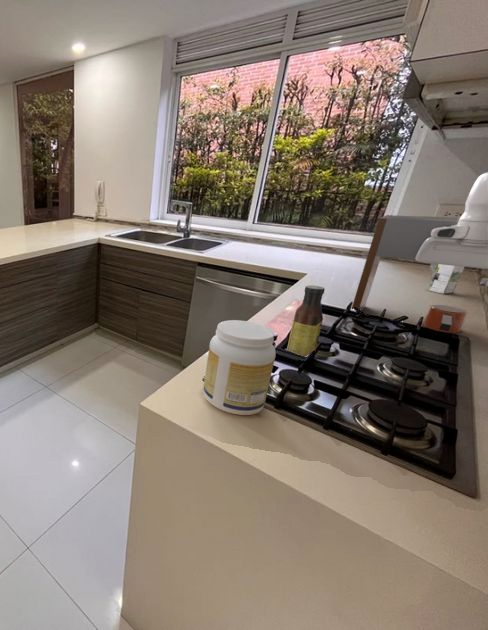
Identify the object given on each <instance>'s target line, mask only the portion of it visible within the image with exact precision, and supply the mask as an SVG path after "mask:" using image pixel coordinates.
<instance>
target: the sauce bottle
mask: <svg viewBox="0 0 488 630" xmlns="http://www.w3.org/2000/svg"><path fill="white" fill-rule="evenodd" d="M303 290H304V296H303V299H302V303H301V304H300V305H299V306H298V307H297V308H296V310H295V313H294V317H293V320H292V324H291V329H290V333H289V337H288V338H289V339H288V343H287V348H286V350H287V349H288V350H289V351H291V352H293V353H295V354H297V355H301V356H307V355H308V354H309V353H310V352H312V351H314V350H315V349H316V350H317V345H318V341H319V338H320V333H321V329H322V324H323V321H324V317H323V310H322V298H323V295H324V294H325V290H326V289H325V287H324V286H319V285H305V287H304V289H303ZM316 350H315V351H316Z"/></svg>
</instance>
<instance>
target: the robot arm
mask: <svg viewBox="0 0 488 630" xmlns="http://www.w3.org/2000/svg"><path fill="white" fill-rule="evenodd" d="M464 206H465V207H464V211H463V213H462V215H461V216H460V217H459V218H458V220H457V225H449V226H445V227H439V228H435V229H433V230H432V231H431V236H432V237H429V238H427V239H426V240H425V241H424V243H423V244H422V246H421V247H420V249H419V251H418V253H417V256H416V258H415V259H416V260H415V261H416V262H418V263H424V264H430V265H429V269H430V272H431V273H432V274H431V277H430V280H432V279H433V280H438V278H439V276H440V273H436V269H437V267H438V264H442V265H452V266H462V267H464V268H472V269H480V270H481V269H482V270H488V170H487V171H485V172H483V173H482V174H481V175H479V176H478V177H477V178H476V180H475V181H474V183H473V185H472V187H471V189H470V191H469V193H468V195H467V198H466V201H465V203H464ZM479 286H482V287H488V277H487V278H484V277H482V278H481V281H480V282H479Z"/></svg>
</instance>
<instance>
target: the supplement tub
mask: <svg viewBox="0 0 488 630" xmlns="http://www.w3.org/2000/svg"><path fill="white" fill-rule="evenodd" d="M274 338H275V332H274V330H272V329H271V328H270V327H268V326H265V325H264V324H260V323H257V322H253V321H249V320H248V321H247V320H241V319H239V320H238V319H230V320H229V319H228V320H224V321H220V322H219V323H218V324H217V327H216V330H215V335H214V336H212V338H211V339H210V342H209V347H208V354H207V361H206V367H205V375H204V381H203V388H202V389H203V395H204V397H205V399H206V400H207V402H209V403H210V404H211V405H212V406H213V407H215V408H217V409H219V410H221V411H223V412H225V413H229V414H233V415H239V416H250V415H256V414H257V413H259V412H261V411H262V410H263V409H264V406H265V404H266V399H267V395H268V391H269V387H270V382H271V377H272V373H273V368H274V365H275V360H276V357H277V356H276V353H277V352H276V348H275V346H274V345H273V344H274V342H275V339H274Z"/></svg>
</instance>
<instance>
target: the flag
mask: <svg viewBox="0 0 488 630" xmlns="http://www.w3.org/2000/svg"><path fill="white" fill-rule="evenodd" d="M457 224H458V217H453V216H450V217H449V216H424V215H423V216H422V215H396V214H395V215H394V214H386V215H384V216H381V217H379V218H378V220H377V222H376V226H375V230H374V233H373V236H372V240H371V244H370V246H369V249H368V253H367V255H366V259H365V263H364V266H363V270H362V273H361V276H360V279H359V282H358V286H357V289H356V293H355V296H354V299H353V302H352V305H351V309H353V308H354V307H357V308H359V309H361V310H362V311H363V310H364V309H365V308H366V305H367V303H368V299H369V296H370V292H371V290H372V286H373V284H374V280H375V276H376V274H377V270H378V267H379V264H380V261H381V258H389V259H397V260H399V259H400V260H410V261H417V260H416V259H415V258H416V256H417V253H418V251H419V249H420V247H421V246H422V244H423V243H424V241H425V240H426V239H427V238H429V237H432V236H431V231H432V230H433V229H435V228H439V227H445V226H449V225H457Z"/></svg>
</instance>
